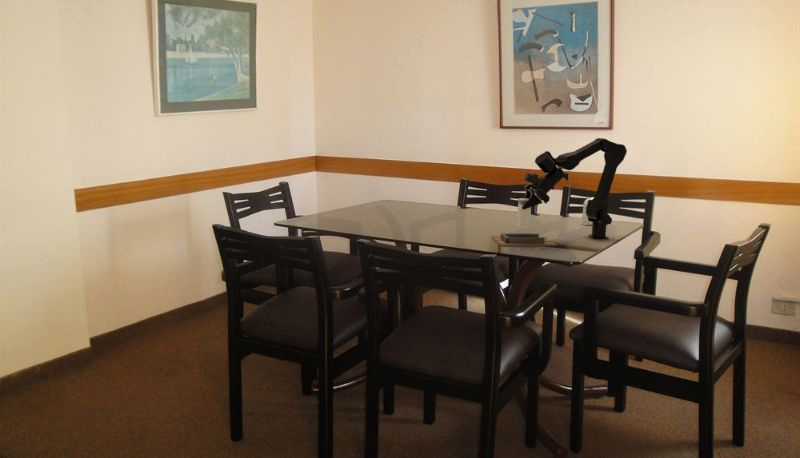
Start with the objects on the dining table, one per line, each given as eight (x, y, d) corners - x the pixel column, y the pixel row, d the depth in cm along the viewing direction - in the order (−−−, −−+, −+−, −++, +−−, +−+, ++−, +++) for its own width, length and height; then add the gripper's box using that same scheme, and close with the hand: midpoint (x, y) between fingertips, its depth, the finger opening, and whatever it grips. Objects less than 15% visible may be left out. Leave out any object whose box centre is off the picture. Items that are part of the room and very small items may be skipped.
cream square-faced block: (530, 227, 280) (531, 200, 277) (519, 227, 279) (521, 200, 277) (527, 225, 284) (528, 198, 282) (517, 225, 284) (518, 198, 282)
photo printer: (595, 222, 328) (597, 196, 326) (603, 224, 325) (605, 197, 322) (580, 224, 323) (582, 197, 320) (587, 226, 319) (589, 198, 317)
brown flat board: (556, 246, 275) (557, 240, 274) (501, 246, 273) (501, 240, 272) (544, 237, 291) (545, 231, 290) (492, 237, 289) (492, 231, 288)
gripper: (530, 163, 286) (502, 190, 288) (543, 168, 268) (513, 196, 269) (548, 182, 289) (520, 209, 290) (562, 189, 270) (532, 217, 272)
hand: (521, 207), depth 280 cm, fingers closed on cream square-faced block, 5 cm apart
